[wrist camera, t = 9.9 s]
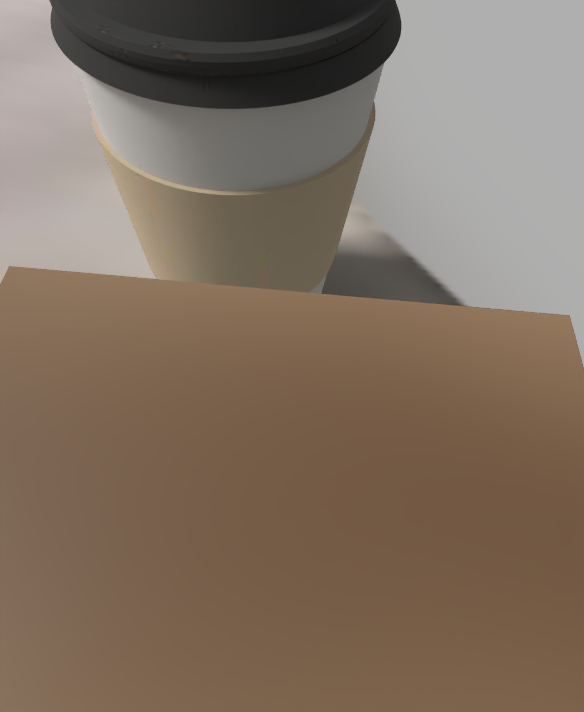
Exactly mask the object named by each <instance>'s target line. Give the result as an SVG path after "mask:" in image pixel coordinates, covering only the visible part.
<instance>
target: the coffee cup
mask: <svg viewBox="0 0 584 712" xmlns="http://www.w3.org/2000/svg"><path fill="white" fill-rule="evenodd" d="M50 3H51V5H52V12H51V29H52V33H53V36H54V38H55V41H56V42H57V44H58V46H59V47H60V49H61V50H62V52H63V53H64V54H65V55H66V56H67V57H68V58H69V59H70V60H71V61H72V62H73V63H74V65H75V67H76V70H77V73H78V75H79V78H80V80H81V83H82V85H83V88H84V91H85V93H86V96H87V98H88V101H89V103H90V106H91V121H92V125H93V128H94V131H95V133H96V136H97V138H98V141H99V143H100V146H101V148H102V150H103V153H104V155H105V158H106V160H107V163H108V165H109V168H110V170H111V173H112V175H113V177H114V180H115V182H116V185H117V187H118V190H119V192H120V195H121V197H122V200H123V202H124V204H125V207H126V209H127V212H128V214H129V217H130V219H131V222H132V224H133V227H134V229H135V232H136V234H137V236H138V239H139V241H140V244H141V246H142V249H143V251H144V254H145V256H146V259H147V261H148V263H149V266H150V268H151V270H152V272H153V274H154V276H155V277H156V278H157V279H160V280H171V281H183V282H194V283H206V284H217V285H228V286H240V287H251V288H262V289H274V290H285V291H296V292H308V293H319V294H322V290H323V287H324V283H325V279H326V276H327V273H328V271H329V269H330V268H331V266H332V263H333V261H334V258H335V255H336V251H337V248H338V245H339V241H340V238H341V235H342V231H343V228H344V224H345V221H346V218H347V214H348V211H349V207H350V204H351V201H352V197H353V194H354V190H355V187H356V184H357V180H358V177H359V173H360V170H361V167H362V163H363V160H364V157H365V153H366V150H367V146H368V143H369V140H370V136H371V133H372V130H373V126H374V121H375V104H374V98H375V94H376V91H377V87H378V83H379V80H380V76H381V72H382V69H383V65H384V62H385V61H386V60H387V59H388V58H389V56H390V55H391V54H392V52H393V51H394V49H395V47H396V46H397V43H398V41H399V38H400V34H401V18H400V14H399V10H398V7H397V4H396V1H395V0H50Z"/></svg>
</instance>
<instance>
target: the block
mask: <svg viewBox="0 0 584 712" xmlns="http://www.w3.org/2000/svg"><path fill="white" fill-rule="evenodd" d="M0 712H584V367H583V364H582V360H581V356H580V353H579V349H578V345H577V341H576V338H575V334H574V330H573V327H572V323H571V319H570V316H569V315H558V314H546V313H534V312H524V311H512V310H501V309H489V308H478V307H467V306H455V305H444V304H433V303H421V302H410V301H399V300H387V299H376V298H365V297H353V296H342V295H330V294H319V293H308V292H296V291H285V290H274V289H262V288H251V287H240V286H228V285H217V284H206V283H194V282H183V281H171V280H160V279H149V278H137V277H126V276H115V275H103V274H92V273H81V272H69V271H58V270H47V269H35V268H24V267H12V266H9V268H8V270H7V272H6V274H5V276H4V278H3V280H2V282H1V284H0Z"/></svg>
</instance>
